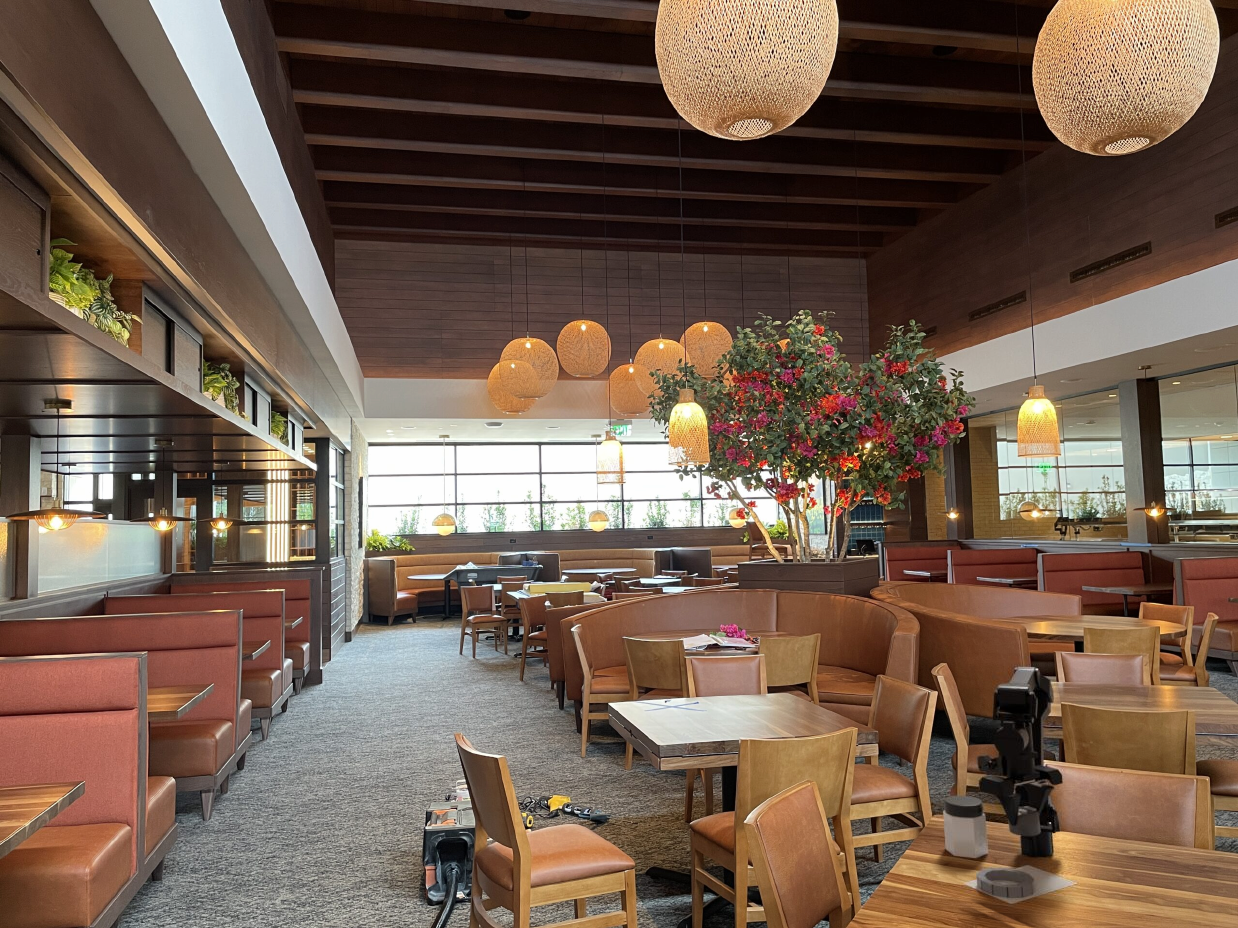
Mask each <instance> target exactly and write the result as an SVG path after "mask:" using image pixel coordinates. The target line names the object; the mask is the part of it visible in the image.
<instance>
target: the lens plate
mask: <svg viewBox="0 0 1238 928" xmlns="http://www.w3.org/2000/svg"><path fill="white" fill-rule="evenodd" d="M975 875H976V879H973V880H970V881H967V882H963V883H962V884H963V885H965V886H967V887H970V888H973V889H974V890H977V891H979V892H981V893H983V894H986V895H989V896H991V897H993V898H996V899H998V900H1000V901H1003V902H1005V903H1008V904H1009V905H1012V904H1016V903H1019V902H1022V901H1026V900H1029V899H1033V898H1035V897H1038V896H1042V895H1045V894H1048V893H1052V892H1054V891H1059V890H1061V889H1065V888H1068V887H1071V886H1074V885H1078V884H1079V883H1078V882H1075V881H1072V880H1069V879H1067V878H1064V877H1062V876H1059V875H1056V874H1053V873H1052V872H1051V873H1050V872H1048V871H1045V870H1042V869H1040V868H1037V867H1035V866H1031V865H1029V864H1027V865H1023V866H1020V867H1016V868H1008V867H987V868H983V869H980V870H978V872H977V873H976V874H975Z"/></svg>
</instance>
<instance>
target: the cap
mask: <svg viewBox="0 0 1238 928" xmlns="http://www.w3.org/2000/svg"><path fill="white" fill-rule="evenodd" d="M1007 821H1008V830H1009V832H1010V833H1011V834H1013V835H1017V836H1019V837H1020V836H1035V835H1038V834H1040V833H1041V830H1040V822H1039V813H1038V811H1037V810H1036V809H1035V808H1032V807H1029V806H1025V807H1019V810H1018V818H1017V822H1016V826H1013V825H1011V824H1010V822H1009V820H1008V819H1007Z"/></svg>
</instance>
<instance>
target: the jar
mask: <svg viewBox="0 0 1238 928" xmlns="http://www.w3.org/2000/svg"><path fill="white" fill-rule="evenodd" d="M943 800H944V801H943V802H944V804H943V805H944V810H943V811H942V814H943V829H944V841H945V842H944V843H945V850H946V851H948V852H949V853H950V854H951V855H953V856H955V857H963V858H973V859H977V858H980V857H982V856H985V855H987V854H989V847H988V833H987V821H986V820H987V819H986V814H985V813H984V806H983V801H982V800H981V799H980V798H977V797H975V796H969V795H951V796H948V797H946V798H944V799H943Z"/></svg>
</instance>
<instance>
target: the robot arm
mask: <svg viewBox="0 0 1238 928" xmlns="http://www.w3.org/2000/svg"><path fill="white" fill-rule="evenodd" d="M1013 670H1014V672H1013V675H1012V677H1011V679H1010V681H1009V682H1007V683H1001V684H999V685H998V686H997V688H996V689H995V690H994V693H993V703H992V704H993V708H992V721H994V722H1000V728H999V729H998V730H997V731H996V733H995V735H994V736H993V745H994V747H995V748H996V750H997V751H998V757H993V758H991V756H990V755H989V754H984V755H978V756H977V767H978V770H979V771H980V772H981V773H982V772H984V773H985V776H982V777H980V779H979V780H978V789H979V790H978V791H979V792H982V793H986V794H989V795H992V796H995V797H996V798H997V799H998V801H999V802H1000V804H1001V806H1002V808H1003V810H1004V812H1005V816H1006V818H1007V821H1008V820H1009V822H1010V824H1011V825H1013V826H1016V822H1017V818H1018V810H1019V807H1025V806H1029V807H1032V808H1035V809H1036V810H1037V811H1038V813H1039V822H1040V830H1041V833H1040V834H1038V835H1035V836H1020V835H1019V838H1020V852H1021V855H1023V856H1025V857H1028V858H1030V859H1031V858H1049V857H1051V856H1053V853H1054V839H1053V834H1056V833H1058V832H1061V824H1060V818H1059V813H1058V811H1057V810H1056V808H1055V805H1054V804H1053V803H1052V802H1053V799H1052V798H1051V796H1050V794H1051V792H1052V791H1053V790H1055V786H1058V785H1062V784H1063V782H1064V781H1063V774H1062V773H1061V772H1060V770H1059V768H1054V767H1050V766H1046V765H1044V764H1045V763H1044V759H1045V757H1044V756H1045V755H1044V750H1045V749H1044V748H1045V747H1044V743H1045V742H1044V722H1045V721H1046V720H1047V718H1048V717H1049V715H1050V714H1051V711H1052V704H1053V703H1054V700H1055V698H1054V697H1055V695H1054V694H1055V693H1054V688H1053V685H1052V682H1051V680H1050V678H1047V677H1046V676H1045V675H1043V674H1042V673H1041V672H1040V669H1039V668H1037V667H1035V666H1017V667H1014V669H1013ZM995 774H998V775H995ZM1049 783H1050V784H1051V785H1049Z"/></svg>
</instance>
